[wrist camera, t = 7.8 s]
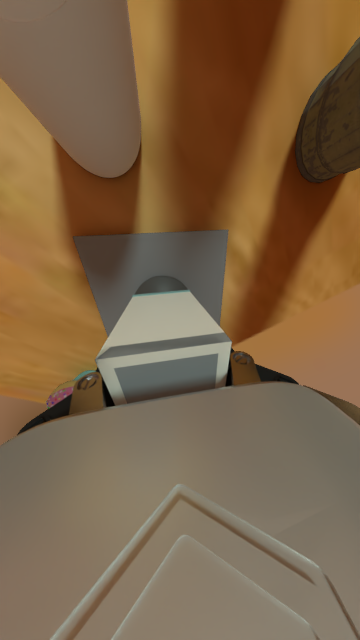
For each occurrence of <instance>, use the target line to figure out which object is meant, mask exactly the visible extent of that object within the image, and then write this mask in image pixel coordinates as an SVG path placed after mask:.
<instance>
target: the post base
mask: <svg viewBox="0 0 360 640" xmlns="http://www.w3.org/2000/svg"><path fill="white" fill-rule="evenodd" d="M73 239H74V242H75V245H76V248H77V250H78V253H79V256H80V259H81V262H82V265H83V267H84V270H85V273H86V276H87V279H88V282H89V284H90V287H91V290H92V293H93V296H94V299H95V301H96V304H97V307H98V310H99V313H100V315H101V318H102V321H103V324H104V327H105V330H106V332H107V335H108V337H109V335H110V334H111V332H112V331H113V329H114V327H115V326H116V324H117V322H118V321H119V319H120V317H121V316H122V314H123V312H124V311H125V309H126V307H127V306H128V304H129V302H130V301H131V299H132V296H133V295H137V294H148V293H159V292H170V291H181V290H190V292H191V293H192V295H193V296H194V297H195V298H196V299H197V301H198V302H199V303H200V304H201V305H202V306H203V308H204V309H205V310H206V311H207V312H208V314H209V315H210V316H211V317H212V318H213V320H214V321H215V322H216V323H217V324H218V325H219V327H220V316H221V305H222V294H223V283H224V272H225V261H226V250H227V239H228V230H210V231H187V232H164V233H141V234H118V235H95V236H73Z"/></svg>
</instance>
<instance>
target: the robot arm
mask: <svg viewBox="0 0 360 640" xmlns="http://www.w3.org/2000/svg"><path fill="white" fill-rule="evenodd" d="M0 640H360V408H358V407H357V406H355V405H353V404H352V403H349V402H347V401H345V400H342V399H339V398H336V397H334V396H331V395H329V394H326V393H323V392H320V391H318V390H315V389H312V388H310V387H307V386H301V385H299V384H298V383H297V382H296V381H295V380H294V379H292V378H291V377H289V376H286V375H284V374H281V373H278V372H276V371H273V370H270V369H267V368H265V367H262V366H259V365H257V364H255V363H254V360H253V358H252V357H251V356H250V355H248V354H247V353H245V352H241V351H236V352H235V351H234V350H233V349H232V347H231V350H230V357H229V364H228V371H227V378H226V384H225V387H221V388H215V389H209V390H203V391H197V392H192V393H186V394H180V395H174V396H168V397H163V398H157V399H151V400H145V401H140V402H134V403H129V404H123V405H118V406H115V404H114V402H113V399H112V397H111V395H110V393H109V390H108V388H107V386H106V384H105V382H104V379H103V377H102V375H101V373H100V370H99V368H97V370H96V372H92V373H88V374H86V375H84V376H83V377H81V378H80V379H79V380H78V381H77V382H76V383H75V385H74V387H73V393H72V394H70V395H69V396H67V397H66V398H64V399H63V400H61V401H60V402H58V403H57V404H55V405H54V406H52V407H51V408H49V409H48V410H46V411H45V412H43V413H42V414H40V415H39V416H37V417H36V418H34V419H33V420H31V421H30V422H29V423H27V424H26V425H25V426H24V427H23V428H22V429H21V430H20V432H19V433H18V434H17V436H15V437H13V438H12V439H10V440H8V441H7V442H5V443H4V444H2V445H1V446H0Z"/></svg>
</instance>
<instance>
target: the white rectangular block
mask: <svg viewBox="0 0 360 640" xmlns="http://www.w3.org/2000/svg"><path fill="white" fill-rule="evenodd" d="M231 344H232V341H231V340H230V339H229V337H228V336H227V335H226V334H225V333H224V331H223V330H222V329H221V328H220V327H219V325H218V324H217V323H216V322H215V321H214V320H213V318H212V317H211V316H210V315H209V314H208V312H207V311H206V310H205V309H204V308H203V306H202V305H201V304H200V303H199V302H198V301H197V299H196V298H195V297H194V296H193V295H192V293H191V292H190V290H181V291H170V292H159V293H148V294H137V295H133V296H132V299H131V301H130V302H129V304H128V306H127V307H126V309H125V311H124V312H123V314H122V316H121V317H120V319H119V321H118V322H117V324H116V326H115V327H114V329H113V331H112V332H111V334H110V335H109V337H108V339H107V340H106V342H105V344H104V345H103V347H102V349H101V350H100V352H99V354H98V355H97V357H96V359H95V361H96V364H97V366H98V368H99V370H100V373H101V375H102V377H103V379H104V382H105V384H106V386H107V388H108V390H109V393H110V395H111V397H112V399H113V402H114V404H115V406H118V405H123V404H129V403H134V402H140V401H145V400H151V399H157V398H163V397H168V396H174V395H180V394H186V393H192V392H197V391H203V390H209V389H215V388H221V387H225V384H226V378H227V371H228V364H229V357H230V350H231Z"/></svg>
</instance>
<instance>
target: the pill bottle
mask: <svg viewBox="0 0 360 640" xmlns="http://www.w3.org/2000/svg"><path fill="white" fill-rule="evenodd" d="M0 77H1V78H2V79H3V81H4V82H5V83H6V84H7V85H8V86H9V87H10V88H11V90H12V91H13V92H14V93H15V94H16V95H17V96H18V98H19V99H20V100H21V101H22V102H23V103H24V104H25V106H26V107H27V108H28V109H29V110H30V111H31V112H32V114H33V115H34V116H35V117H36V118H37V119H38V120H39V122H40V123H41V124H42V125H43V126H44V127H45V128H46V129H47V131H48V132H49V133H50V134H51V135H52V136H53V137H54V139H55V140H56V141H57V142H58V143H59V144H60V145H61V147H62V148H63V149H64V150H65V151H66V152H67V153H68V154H69V156H70V157H71V158H72V159H73V160H75V161H76V162H77V163H78V164H79V165H80V166H82V167H83V168H84V169H86V170H87V171H89V172H91V173H92V174H95V175H97V176H100V177H105V178H114V177H118V176H121V175H123V174H124V173H126V172H127V171H128V170H129V169H130V168H131V167H132V165H133V164H134V162H135V160H136V158H137V155H138V152H139V148H140V142H141V116H140V107H139V98H138V90H137V81H136V73H135V64H134V56H133V47H132V39H131V30H130V22H129V13H128V5H127V0H0Z"/></svg>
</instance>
